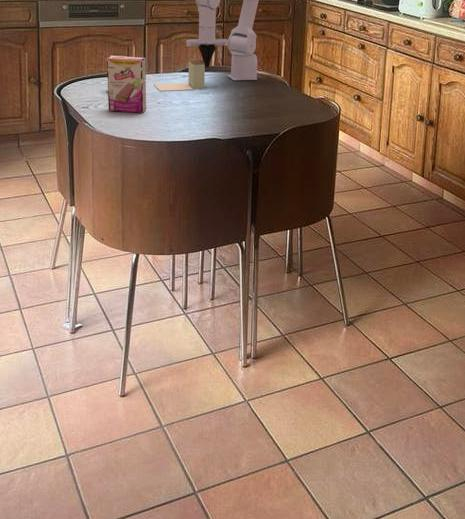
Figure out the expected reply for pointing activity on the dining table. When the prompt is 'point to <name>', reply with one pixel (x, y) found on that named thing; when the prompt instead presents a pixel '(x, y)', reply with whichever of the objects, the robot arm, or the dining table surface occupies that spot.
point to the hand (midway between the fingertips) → (206, 66)
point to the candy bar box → (126, 84)
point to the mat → (173, 87)
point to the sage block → (196, 73)
